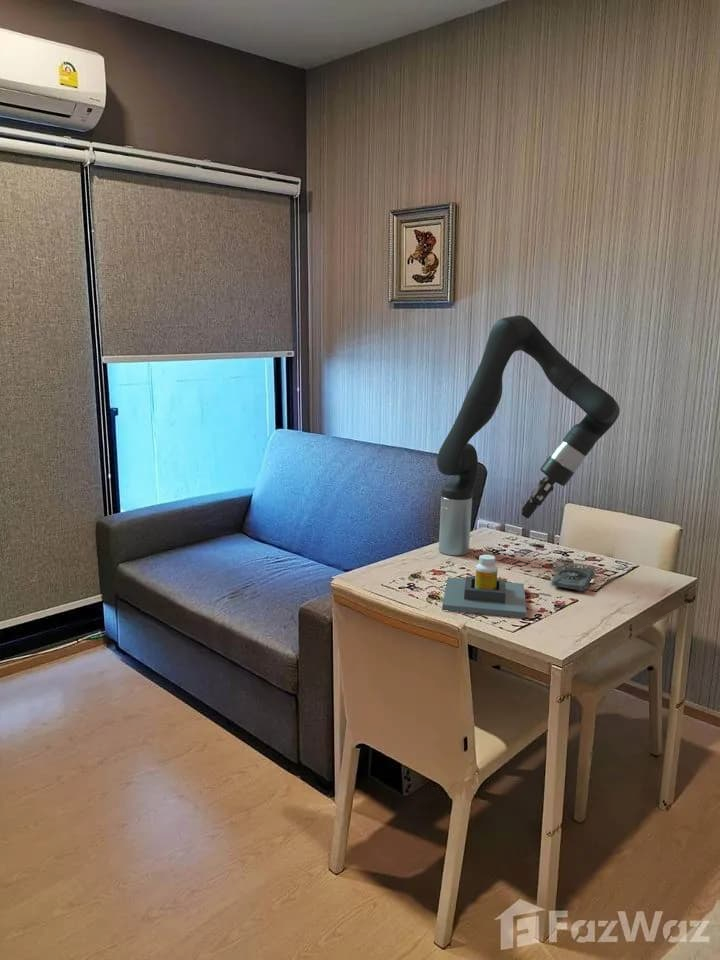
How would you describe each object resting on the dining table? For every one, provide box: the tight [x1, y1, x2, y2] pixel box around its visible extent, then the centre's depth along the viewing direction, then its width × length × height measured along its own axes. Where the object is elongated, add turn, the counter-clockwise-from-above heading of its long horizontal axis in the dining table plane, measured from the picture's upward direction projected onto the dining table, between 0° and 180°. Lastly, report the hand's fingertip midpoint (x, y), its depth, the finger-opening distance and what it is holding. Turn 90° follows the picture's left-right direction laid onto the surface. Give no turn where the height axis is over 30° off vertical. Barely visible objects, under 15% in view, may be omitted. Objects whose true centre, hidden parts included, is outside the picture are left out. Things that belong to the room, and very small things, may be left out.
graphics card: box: [551, 560, 597, 592], centre depth 204 cm, size 17×4×12 cm
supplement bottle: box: [474, 554, 498, 590], centre depth 188 cm, size 5×5×10 cm
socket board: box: [441, 575, 527, 619], centre depth 189 cm, size 20×20×4 cm
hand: (524, 514), depth 191 cm, fingers open, 8 cm apart
